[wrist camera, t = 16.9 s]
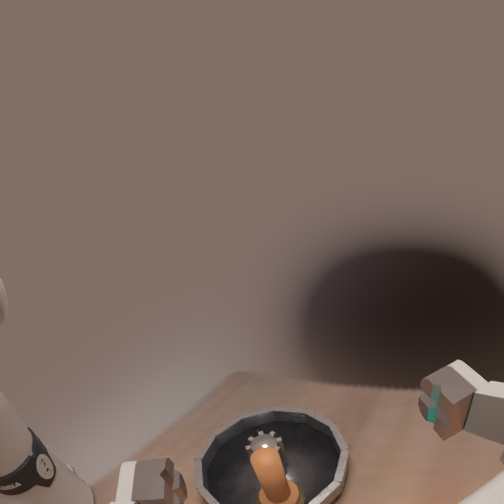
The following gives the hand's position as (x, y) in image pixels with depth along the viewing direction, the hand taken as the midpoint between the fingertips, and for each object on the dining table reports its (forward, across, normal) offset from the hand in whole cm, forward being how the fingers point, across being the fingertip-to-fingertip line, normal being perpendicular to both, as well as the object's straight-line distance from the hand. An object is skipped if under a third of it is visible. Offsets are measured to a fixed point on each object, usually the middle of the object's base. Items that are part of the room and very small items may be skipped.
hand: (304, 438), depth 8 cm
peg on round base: (+15, +2, +30) cm, 33 cm away
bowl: (+20, +2, +32) cm, 38 cm away
